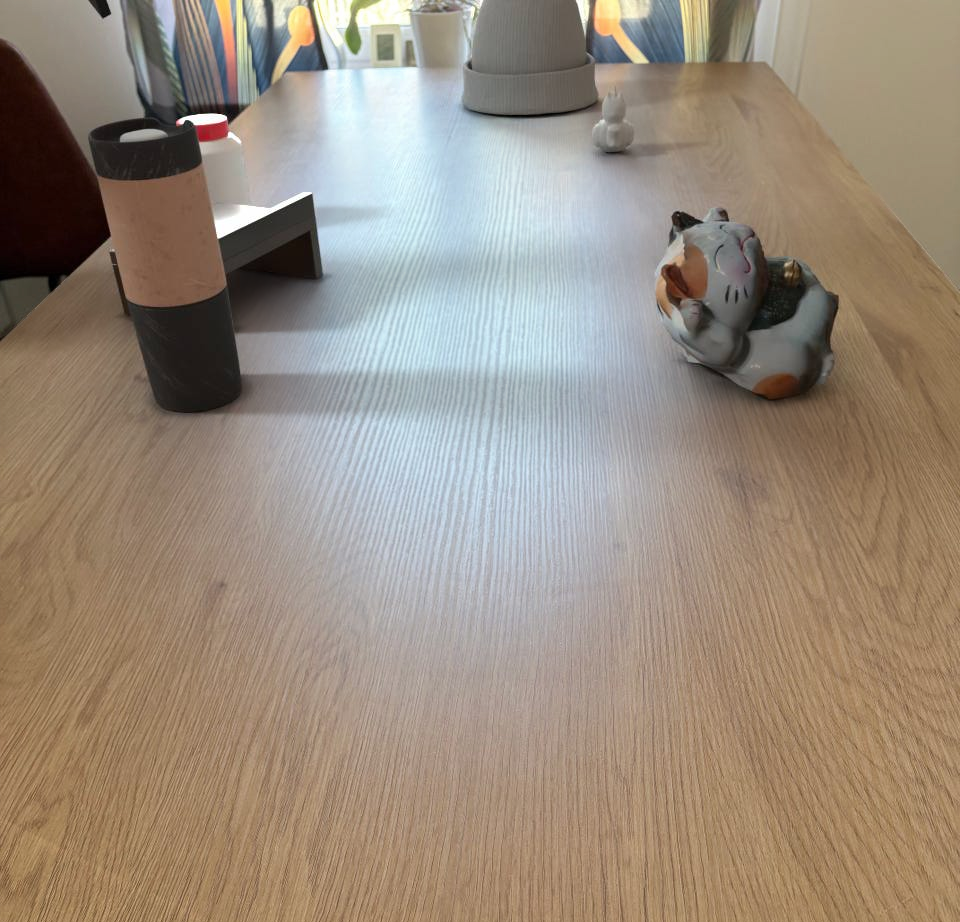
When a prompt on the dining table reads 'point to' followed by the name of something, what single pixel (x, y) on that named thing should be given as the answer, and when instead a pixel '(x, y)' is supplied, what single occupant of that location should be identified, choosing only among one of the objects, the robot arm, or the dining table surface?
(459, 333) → the dining table surface
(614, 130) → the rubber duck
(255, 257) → the shelf
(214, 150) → the pill bottle
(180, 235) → the travel mug
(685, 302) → the lucky cat figurine
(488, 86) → the beanie hat
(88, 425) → the dining table surface
